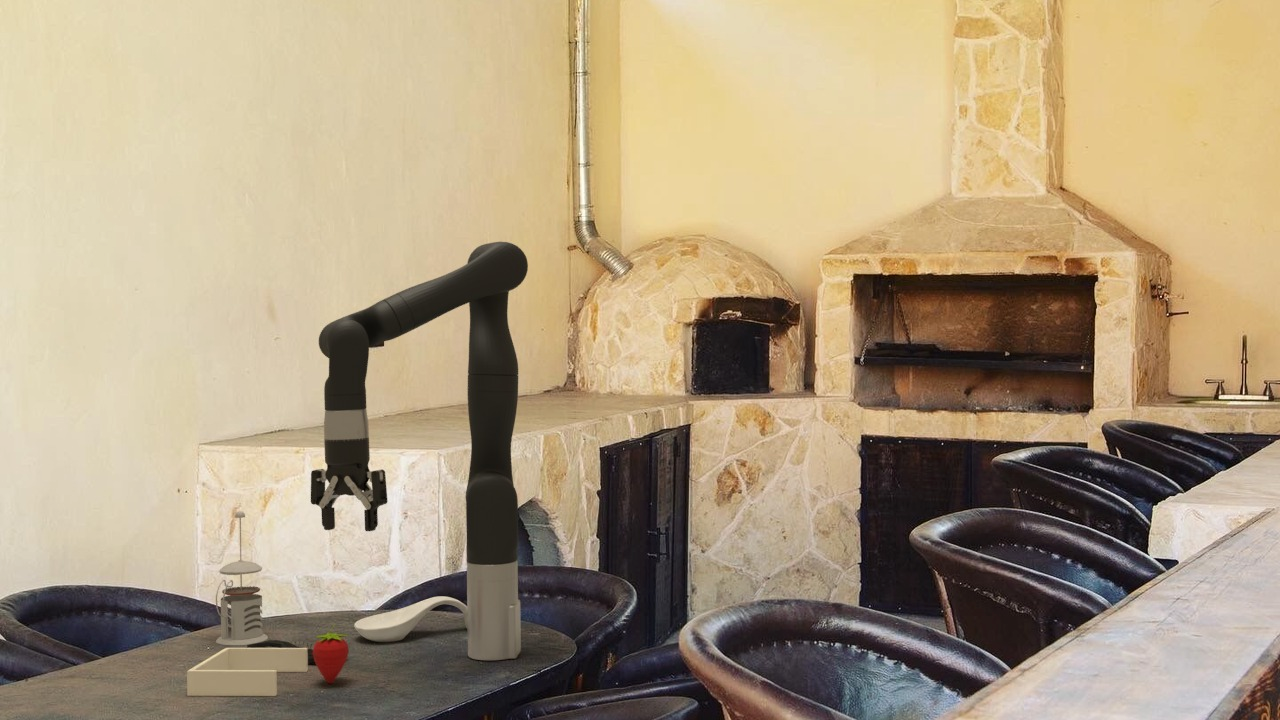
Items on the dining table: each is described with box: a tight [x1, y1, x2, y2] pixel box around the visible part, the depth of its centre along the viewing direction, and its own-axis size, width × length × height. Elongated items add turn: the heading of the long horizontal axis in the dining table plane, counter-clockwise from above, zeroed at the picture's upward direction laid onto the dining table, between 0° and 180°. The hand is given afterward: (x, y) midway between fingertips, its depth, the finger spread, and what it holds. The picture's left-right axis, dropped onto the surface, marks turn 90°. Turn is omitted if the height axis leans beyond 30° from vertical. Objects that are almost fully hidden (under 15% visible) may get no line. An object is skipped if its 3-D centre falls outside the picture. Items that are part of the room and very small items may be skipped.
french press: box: [215, 511, 269, 646], centre depth 253 cm, size 10×12×25 cm
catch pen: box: [186, 647, 309, 697], centre depth 220 cm, size 15×17×4 cm
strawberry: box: [312, 623, 350, 684], centre depth 219 cm, size 6×8×10 cm
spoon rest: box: [353, 596, 468, 643], centre depth 255 cm, size 24×12×7 cm, turn 116°
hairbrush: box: [246, 639, 315, 665], centre depth 240 cm, size 8×4×25 cm
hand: (349, 530), depth 224 cm, fingers open, 8 cm apart
